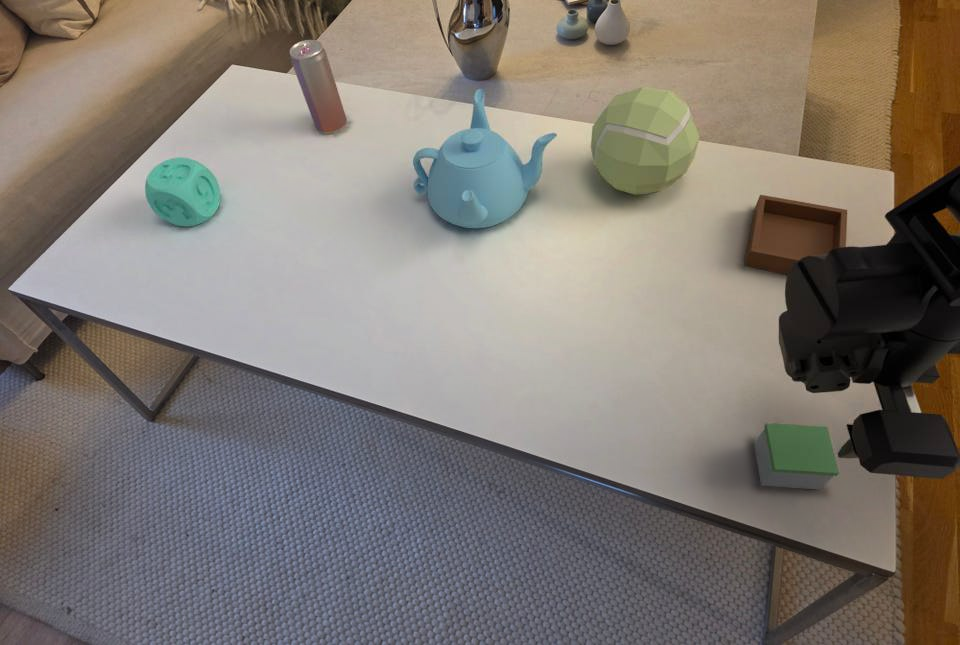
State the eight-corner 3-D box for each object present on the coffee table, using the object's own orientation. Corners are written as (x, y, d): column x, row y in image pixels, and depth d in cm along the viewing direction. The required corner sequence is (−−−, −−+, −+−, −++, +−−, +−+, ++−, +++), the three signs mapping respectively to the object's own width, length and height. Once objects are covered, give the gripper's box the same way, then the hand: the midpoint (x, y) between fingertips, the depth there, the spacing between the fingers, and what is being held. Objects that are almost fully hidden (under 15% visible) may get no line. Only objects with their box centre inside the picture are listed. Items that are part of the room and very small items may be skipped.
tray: (753, 210, 88) (760, 194, 86) (838, 225, 85) (847, 209, 82) (744, 265, 82) (750, 250, 80) (835, 284, 79) (844, 269, 76)
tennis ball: (610, 141, 100) (619, 58, 88) (697, 164, 95) (720, 79, 83) (574, 197, 93) (579, 115, 81) (666, 225, 88) (687, 141, 76)
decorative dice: (184, 193, 102) (160, 155, 95) (226, 195, 101) (205, 157, 94) (163, 226, 97) (136, 189, 91) (207, 228, 96) (182, 191, 90)
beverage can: (310, 133, 109) (281, 56, 97) (325, 113, 112) (299, 37, 100) (338, 137, 108) (313, 60, 95) (352, 117, 111) (329, 40, 99)
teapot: (559, 195, 94) (561, 130, 84) (474, 260, 87) (465, 197, 77) (485, 150, 102) (479, 86, 92) (402, 206, 95) (386, 143, 85)
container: (810, 445, 66) (827, 426, 62) (820, 490, 63) (839, 473, 59) (752, 442, 67) (766, 422, 63) (760, 486, 64) (774, 469, 60)
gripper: (787, 212, 48) (728, 323, 61) (844, 415, 38) (758, 499, 50) (930, 220, 47) (840, 331, 60) (1032, 430, 37) (896, 512, 49)
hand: (831, 410), depth 55 cm, fingers open, 9 cm apart
